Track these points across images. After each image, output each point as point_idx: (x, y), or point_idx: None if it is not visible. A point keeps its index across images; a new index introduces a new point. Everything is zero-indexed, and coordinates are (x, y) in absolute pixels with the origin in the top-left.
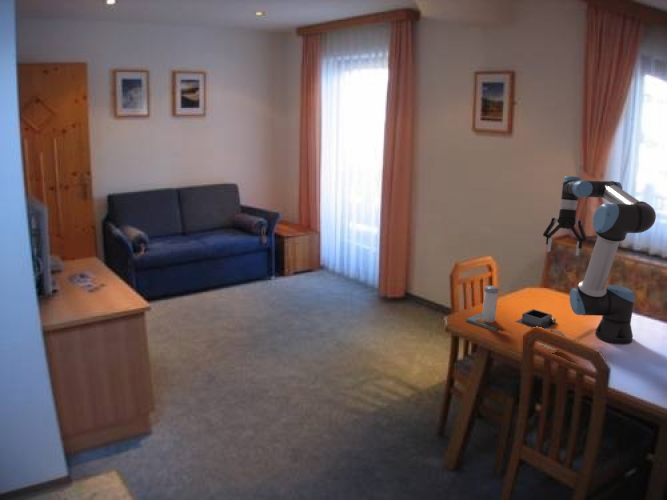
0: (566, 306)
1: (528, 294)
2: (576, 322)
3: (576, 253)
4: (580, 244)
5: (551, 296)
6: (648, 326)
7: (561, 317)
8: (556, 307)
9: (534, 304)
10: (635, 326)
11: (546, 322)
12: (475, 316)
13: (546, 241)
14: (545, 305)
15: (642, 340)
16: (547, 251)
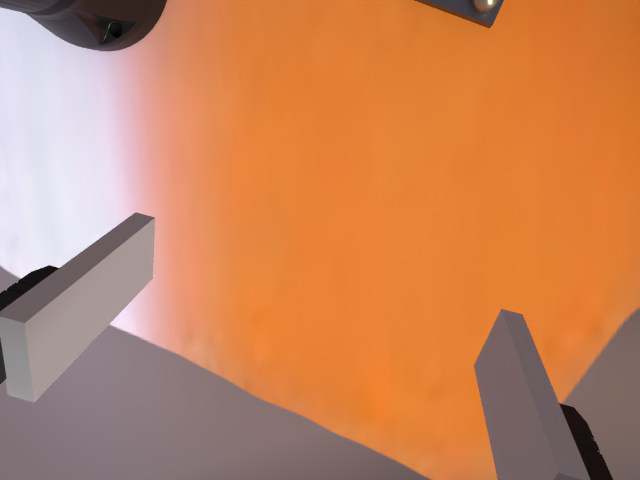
0: (331, 294)
1: None
2: (266, 89)
3: (131, 224)
4: (8, 303)
5: (407, 401)
6: (17, 198)
7: (336, 124)
8: (372, 259)
9: (477, 254)
10: (54, 172)
11: None
12: None
13: (593, 447)
14: (424, 264)
15: None
16: (514, 314)
